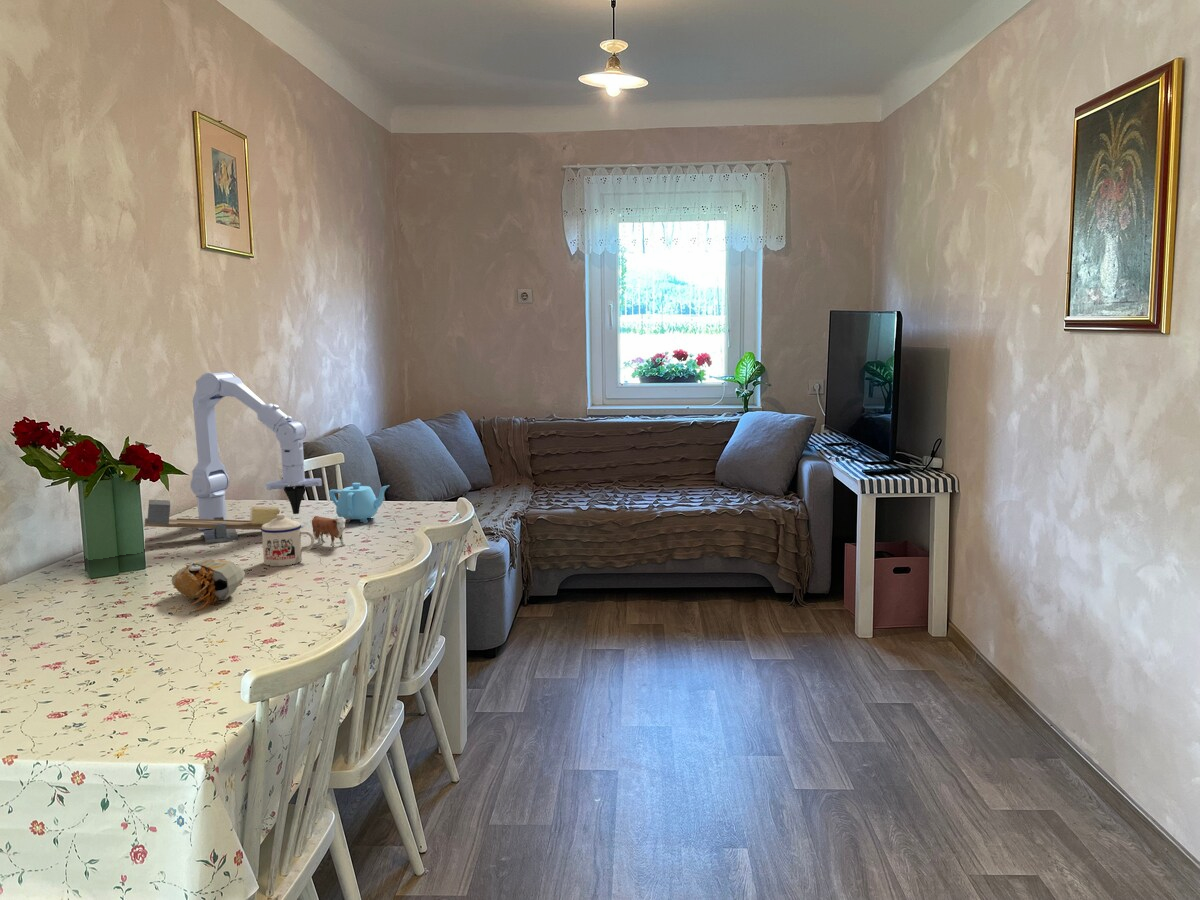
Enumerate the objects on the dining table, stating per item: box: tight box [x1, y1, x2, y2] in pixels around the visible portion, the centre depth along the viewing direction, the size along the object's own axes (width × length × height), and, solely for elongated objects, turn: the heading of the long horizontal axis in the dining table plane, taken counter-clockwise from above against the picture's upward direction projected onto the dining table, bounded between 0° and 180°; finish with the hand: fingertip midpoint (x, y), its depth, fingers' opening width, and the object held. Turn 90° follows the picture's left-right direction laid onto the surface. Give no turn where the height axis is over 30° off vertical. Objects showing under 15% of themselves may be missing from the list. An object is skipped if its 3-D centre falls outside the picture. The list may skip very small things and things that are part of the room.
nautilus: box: [171, 558, 246, 614], centre depth 185 cm, size 8×22×15 cm
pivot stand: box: [202, 517, 239, 544], centre depth 242 cm, size 12×8×5 cm, turn 26°
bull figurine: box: [311, 515, 351, 548], centre depth 232 cm, size 4×13×8 cm, turn 53°
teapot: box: [328, 482, 390, 524], centre depth 263 cm, size 13×14×11 cm
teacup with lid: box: [260, 513, 316, 567], centre depth 215 cm, size 12×9×12 cm
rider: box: [249, 506, 280, 525], centre depth 247 cm, size 4×7×4 cm, turn 116°
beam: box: [144, 499, 262, 531], centre depth 242 cm, size 8×36×6 cm, turn 116°
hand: (295, 513), depth 251 cm, fingers closed
